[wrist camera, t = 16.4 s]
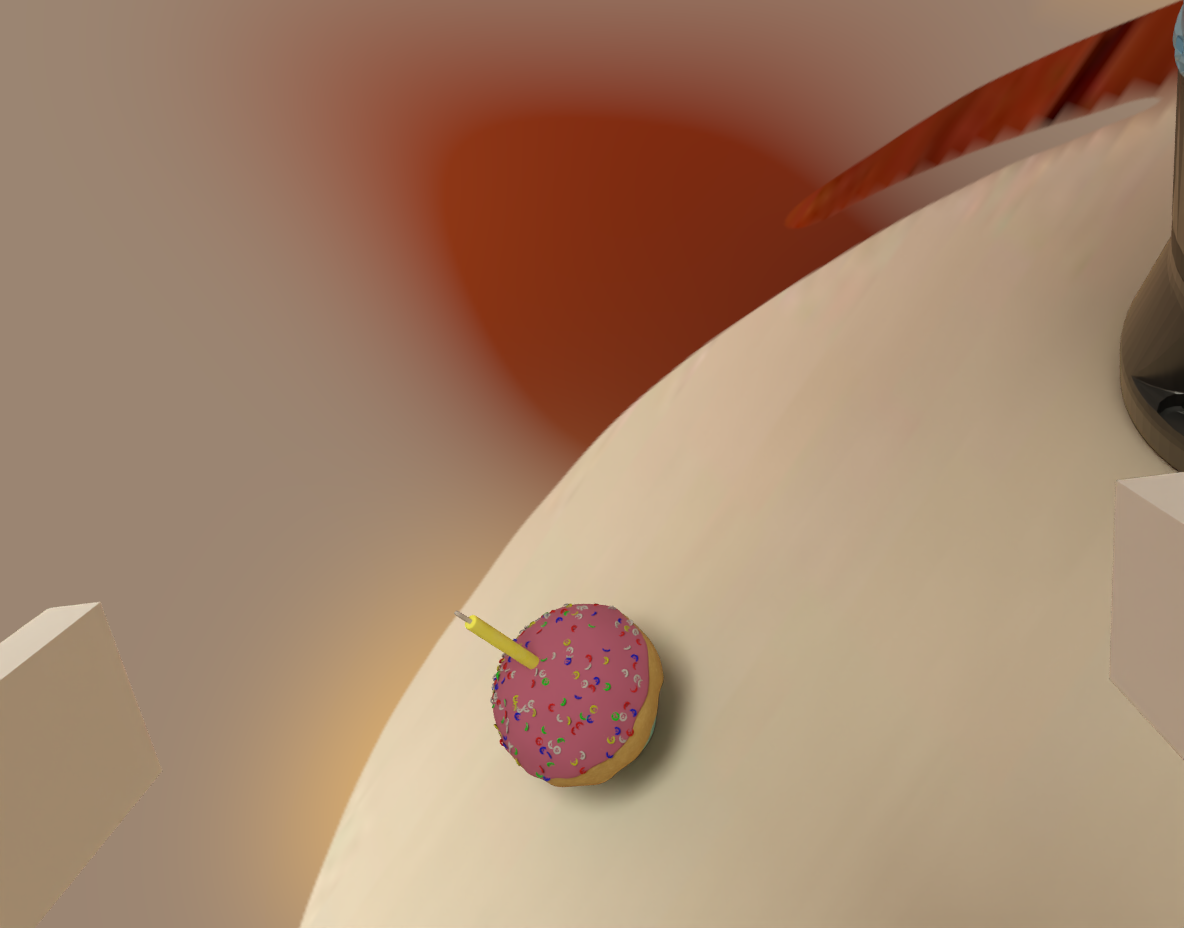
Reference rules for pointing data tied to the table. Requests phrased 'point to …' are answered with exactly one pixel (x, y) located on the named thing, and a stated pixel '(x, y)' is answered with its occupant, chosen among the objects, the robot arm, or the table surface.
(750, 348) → the table surface
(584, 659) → the cupcake
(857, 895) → the table surface
